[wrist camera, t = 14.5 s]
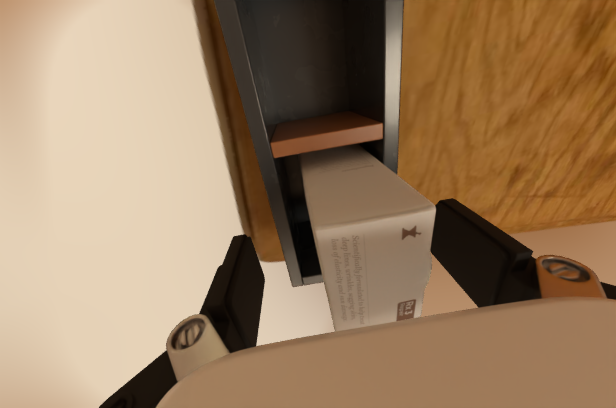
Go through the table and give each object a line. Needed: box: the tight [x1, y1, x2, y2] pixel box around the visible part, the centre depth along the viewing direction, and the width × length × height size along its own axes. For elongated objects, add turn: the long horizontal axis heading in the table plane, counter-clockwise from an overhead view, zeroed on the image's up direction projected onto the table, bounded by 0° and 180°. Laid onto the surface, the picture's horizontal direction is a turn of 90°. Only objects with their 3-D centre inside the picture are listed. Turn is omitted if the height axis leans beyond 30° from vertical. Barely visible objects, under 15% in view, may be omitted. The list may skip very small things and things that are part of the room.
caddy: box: [214, 0, 404, 287], centre depth 14 cm, size 19×7×8 cm, turn 9°
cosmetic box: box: [298, 144, 436, 332], centre depth 14 cm, size 6×4×12 cm
